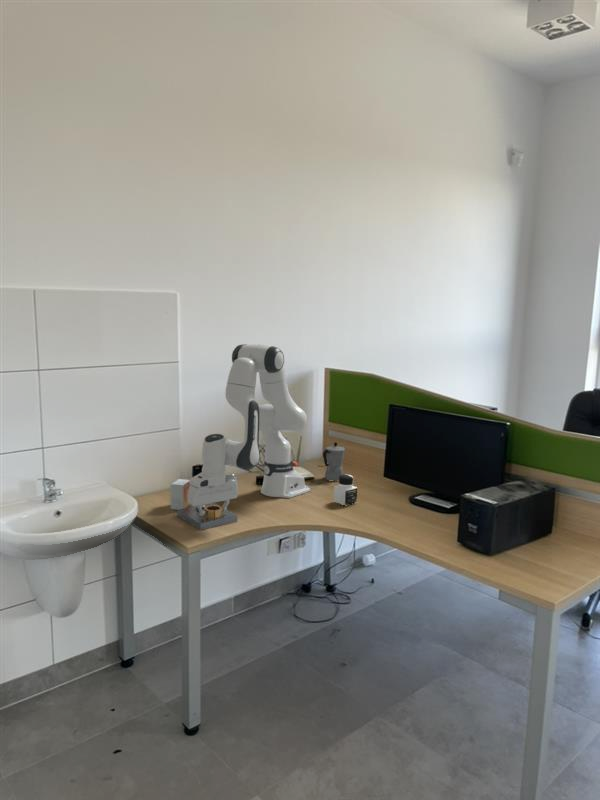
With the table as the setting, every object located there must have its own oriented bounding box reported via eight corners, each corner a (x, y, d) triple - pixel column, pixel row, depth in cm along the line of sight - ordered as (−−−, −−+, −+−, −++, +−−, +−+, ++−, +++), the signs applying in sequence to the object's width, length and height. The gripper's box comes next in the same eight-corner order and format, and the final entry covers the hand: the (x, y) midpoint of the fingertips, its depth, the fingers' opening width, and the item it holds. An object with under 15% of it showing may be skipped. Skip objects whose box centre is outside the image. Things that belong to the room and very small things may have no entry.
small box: (183, 510, 241) (183, 485, 239) (170, 509, 242) (170, 484, 240) (190, 504, 249) (191, 479, 247) (178, 503, 250) (178, 478, 248)
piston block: (213, 508, 245) (213, 490, 244) (237, 521, 231) (237, 502, 230) (177, 515, 235) (177, 497, 234) (200, 530, 221) (200, 510, 220)
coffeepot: (335, 474, 300) (336, 438, 298) (350, 478, 294) (351, 442, 291) (314, 480, 289) (316, 443, 286) (330, 484, 283) (331, 447, 280)
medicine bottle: (345, 506, 253) (346, 478, 251) (333, 502, 258) (334, 474, 256) (356, 503, 257) (358, 476, 255) (344, 499, 263) (346, 472, 261)
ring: (216, 511, 234) (216, 504, 234) (225, 516, 229) (225, 509, 228) (201, 514, 230) (201, 507, 229) (210, 520, 225) (210, 512, 224)
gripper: (232, 471, 236) (232, 505, 238) (185, 479, 223) (185, 515, 225) (241, 475, 231) (240, 510, 233) (194, 484, 218) (193, 520, 221)
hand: (213, 513), depth 229 cm, fingers open, 8 cm apart
